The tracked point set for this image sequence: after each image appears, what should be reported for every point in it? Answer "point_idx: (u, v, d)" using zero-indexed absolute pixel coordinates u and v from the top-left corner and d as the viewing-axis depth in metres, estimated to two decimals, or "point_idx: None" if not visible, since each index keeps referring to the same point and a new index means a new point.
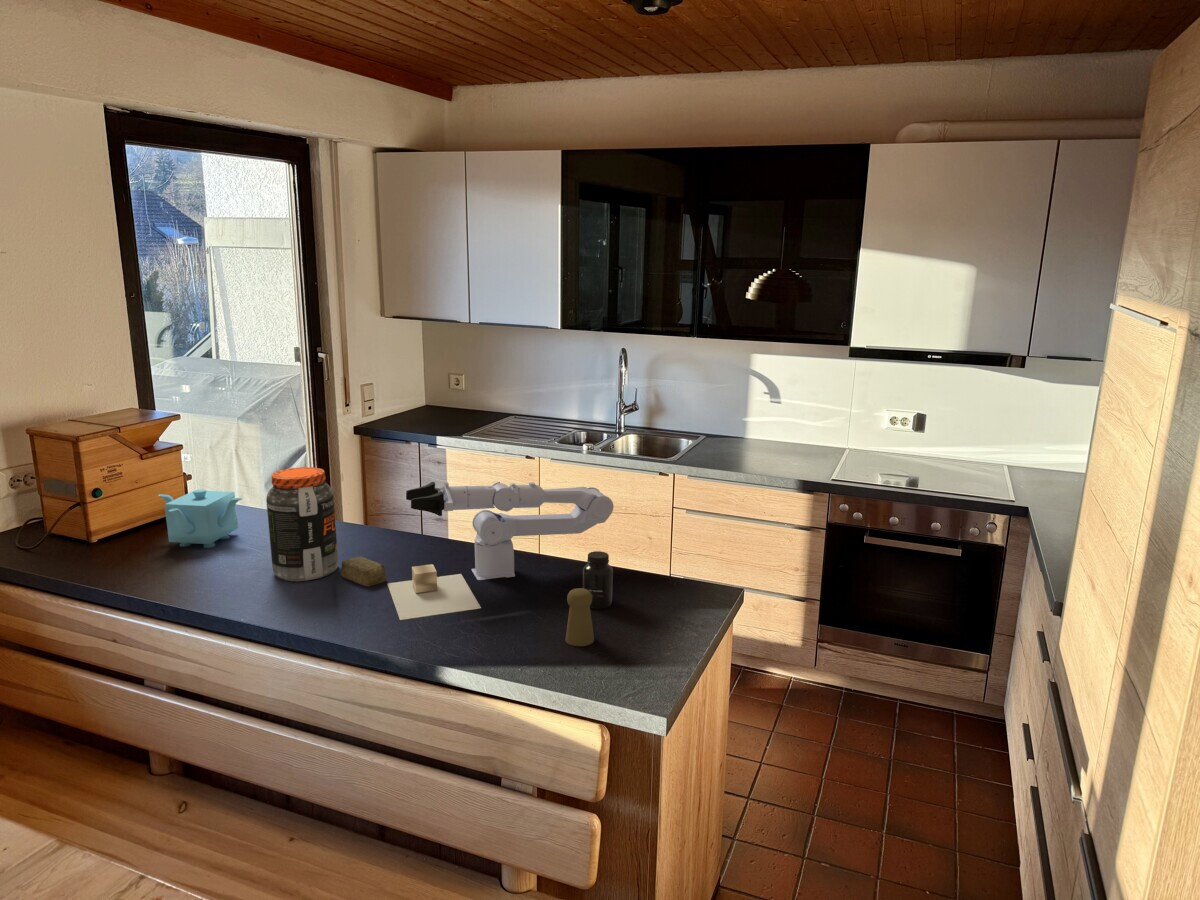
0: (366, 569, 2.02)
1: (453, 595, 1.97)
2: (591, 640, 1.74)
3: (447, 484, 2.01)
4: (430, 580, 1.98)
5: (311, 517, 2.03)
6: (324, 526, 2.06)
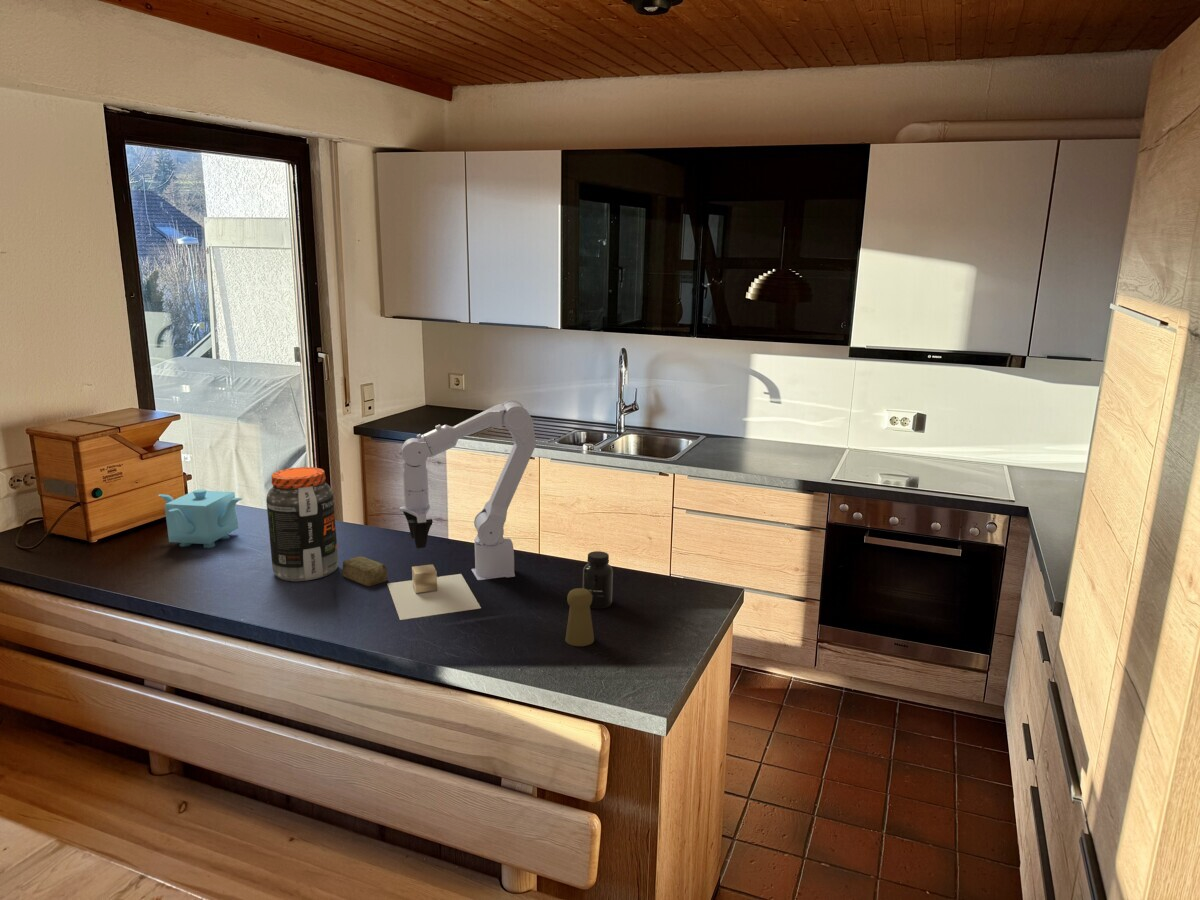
0: (367, 569, 2.02)
1: (453, 595, 1.97)
2: (591, 640, 1.74)
3: (401, 510, 2.00)
4: (430, 580, 1.98)
5: (311, 517, 2.03)
6: (324, 526, 2.06)
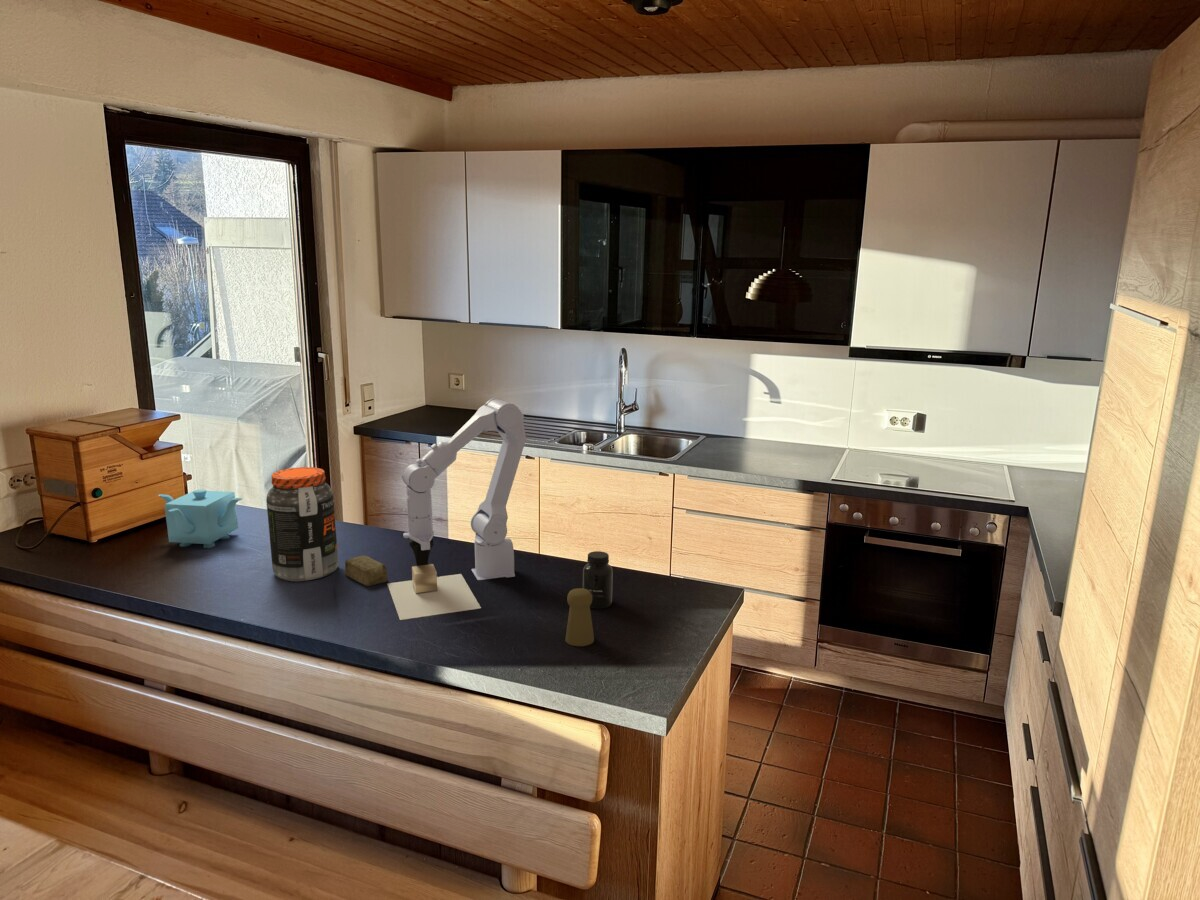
0: (367, 568, 2.02)
1: (453, 595, 1.97)
2: (591, 640, 1.74)
3: (405, 536, 1.98)
4: (430, 580, 1.98)
5: (311, 517, 2.03)
6: (324, 526, 2.06)
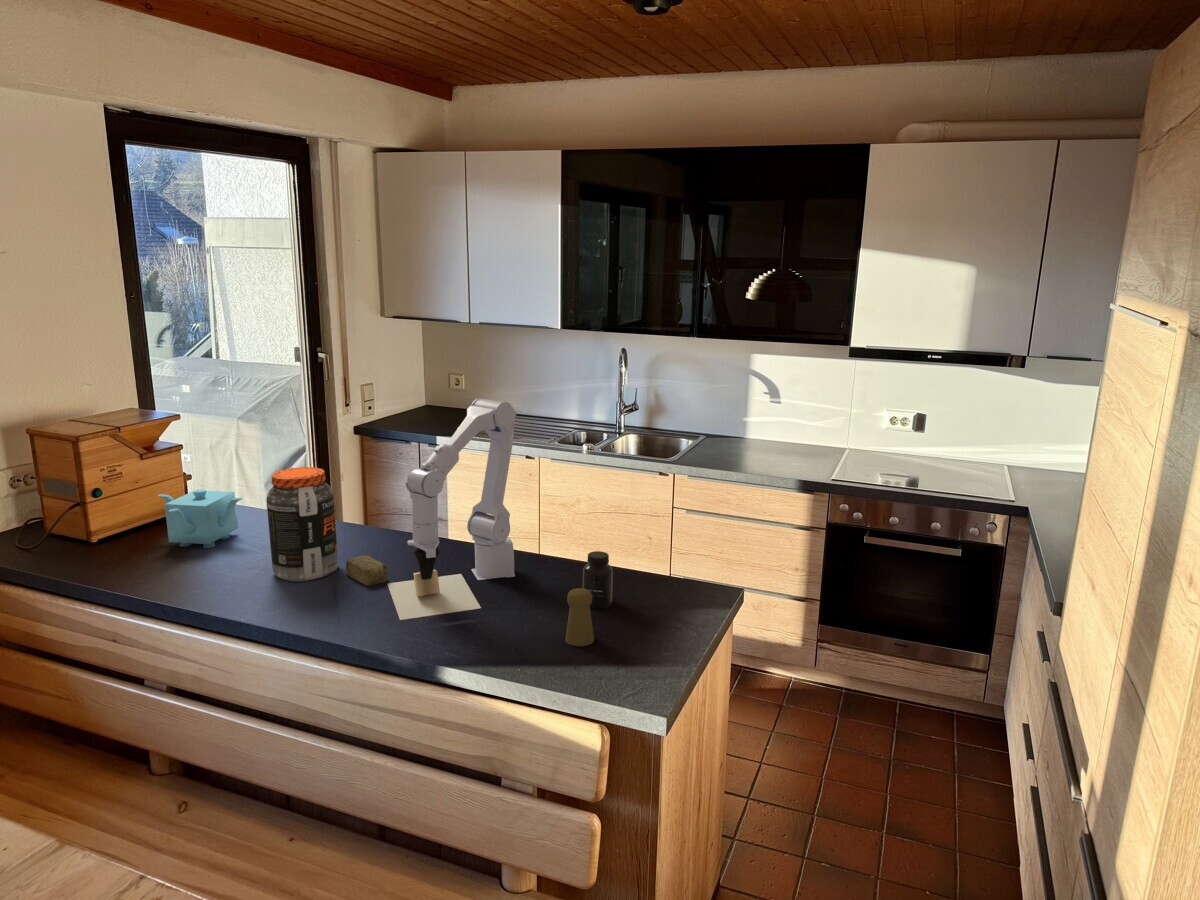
0: (367, 568, 2.02)
1: (453, 595, 1.97)
2: (591, 640, 1.74)
3: (409, 543, 1.90)
4: None
5: (311, 517, 2.03)
6: (324, 526, 2.06)
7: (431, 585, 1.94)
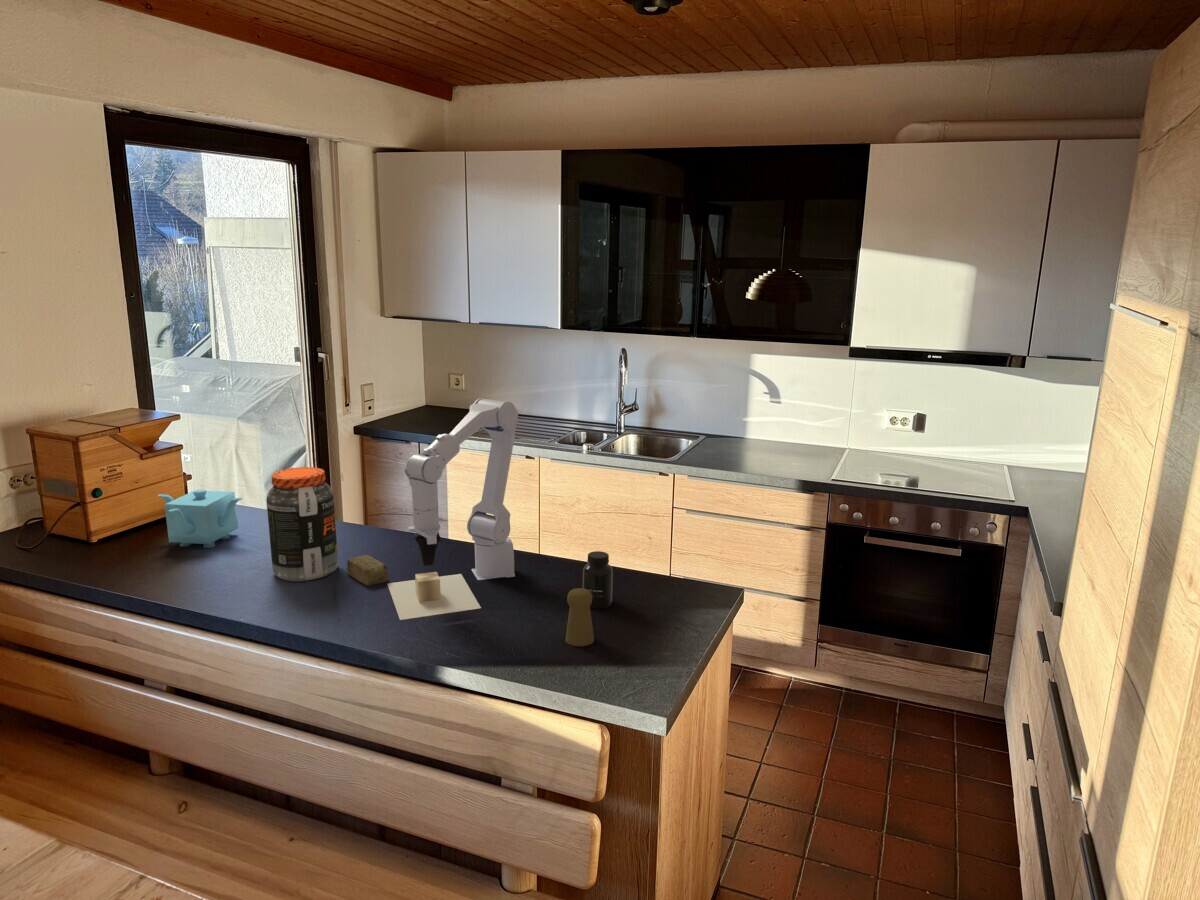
0: (367, 568, 2.02)
1: (453, 595, 1.97)
2: (591, 640, 1.74)
3: (410, 530, 1.88)
4: None
5: (311, 517, 2.03)
6: (324, 526, 2.06)
7: (433, 592, 1.93)
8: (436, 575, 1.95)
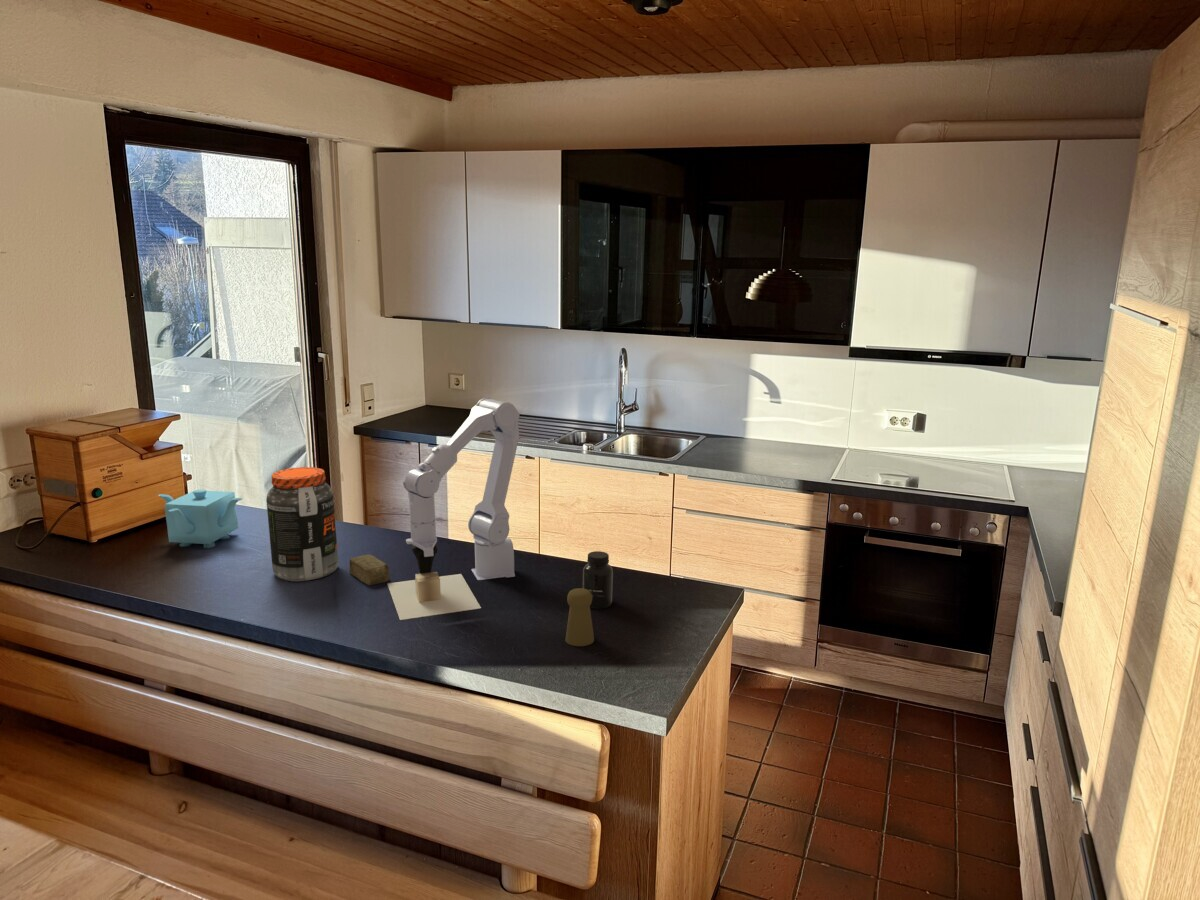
0: (368, 568, 2.02)
1: (453, 595, 1.97)
2: (591, 640, 1.74)
3: (408, 542, 1.94)
4: None
5: (311, 517, 2.03)
6: (324, 526, 2.06)
7: (433, 592, 1.93)
8: (436, 575, 1.95)
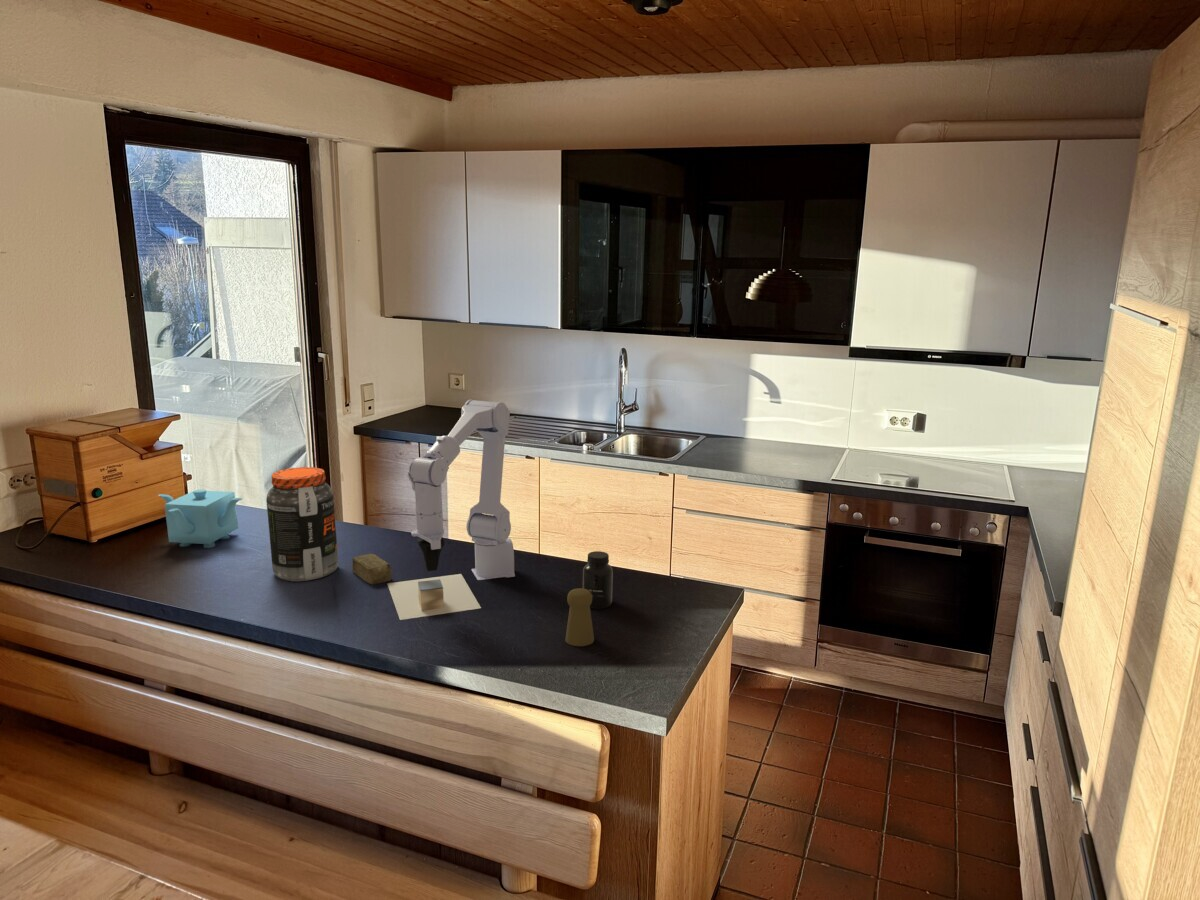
0: (370, 567, 2.03)
1: (453, 595, 1.97)
2: (591, 640, 1.74)
3: (413, 534, 1.84)
4: None
5: (311, 517, 2.03)
6: (324, 526, 2.06)
7: None
8: (441, 597, 1.89)
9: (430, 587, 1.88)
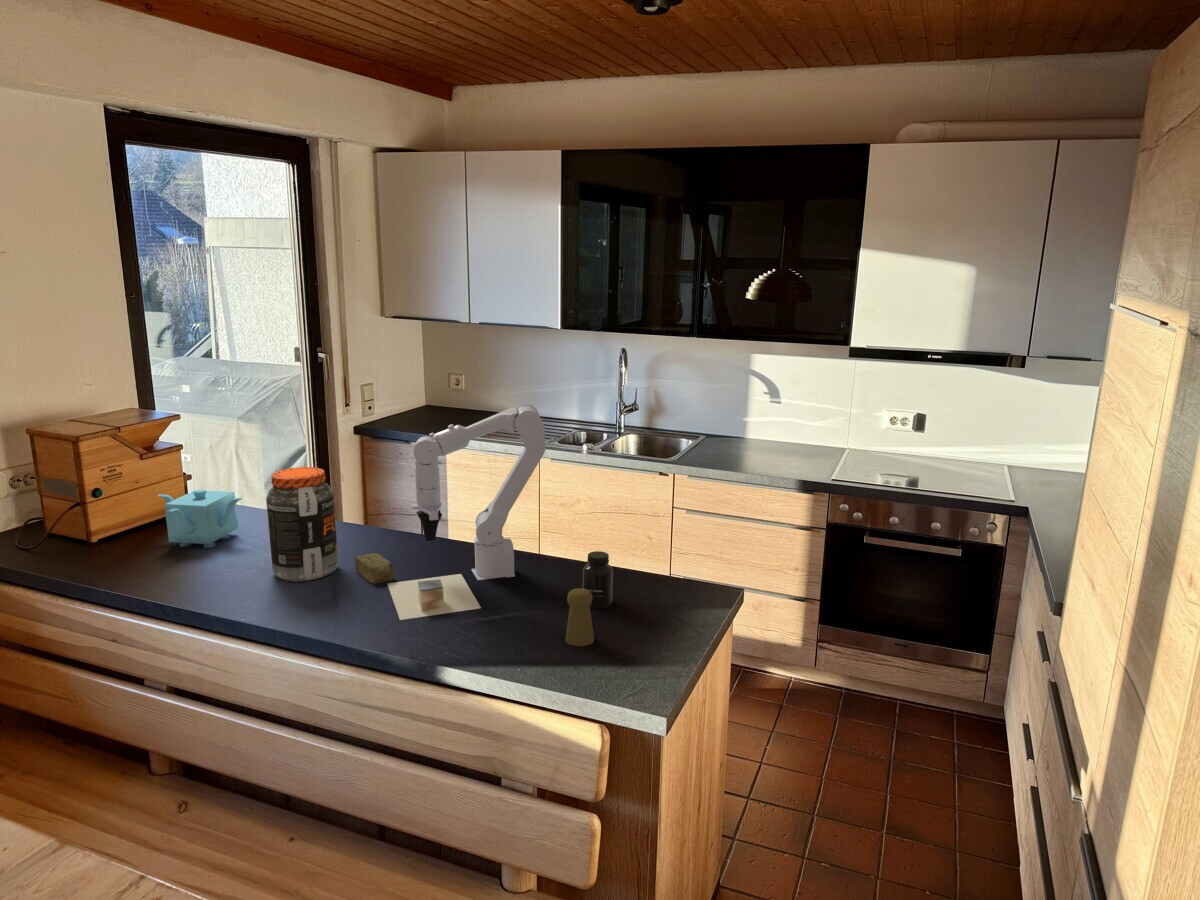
0: (373, 566, 2.03)
1: (453, 595, 1.97)
2: (591, 640, 1.74)
3: (413, 507, 2.02)
4: None
5: (311, 517, 2.03)
6: (324, 526, 2.06)
7: None
8: (441, 597, 1.89)
9: (430, 587, 1.88)
